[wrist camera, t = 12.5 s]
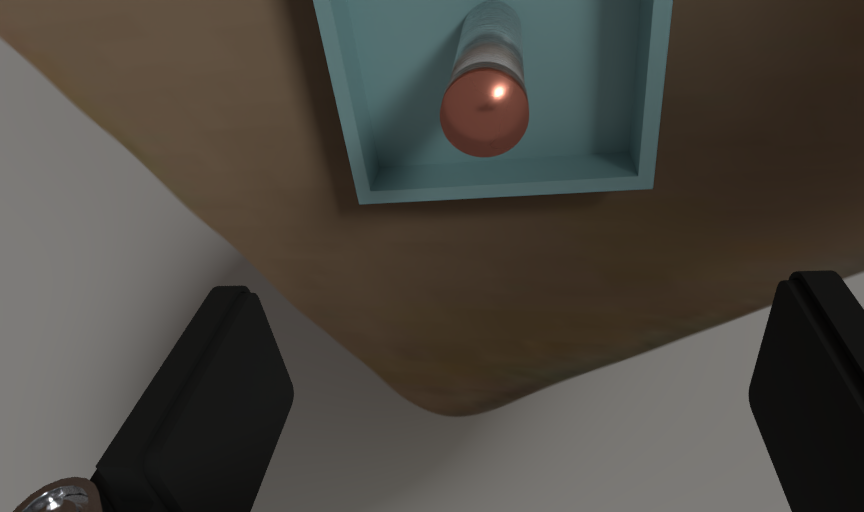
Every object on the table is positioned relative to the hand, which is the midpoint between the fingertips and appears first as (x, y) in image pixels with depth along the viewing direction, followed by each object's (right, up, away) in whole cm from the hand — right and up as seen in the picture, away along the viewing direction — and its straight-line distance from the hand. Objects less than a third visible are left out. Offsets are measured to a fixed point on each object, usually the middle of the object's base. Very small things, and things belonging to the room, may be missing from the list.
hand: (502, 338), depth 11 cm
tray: (+2, +13, +19) cm, 24 cm away
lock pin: (+2, +13, +19) cm, 23 cm away
